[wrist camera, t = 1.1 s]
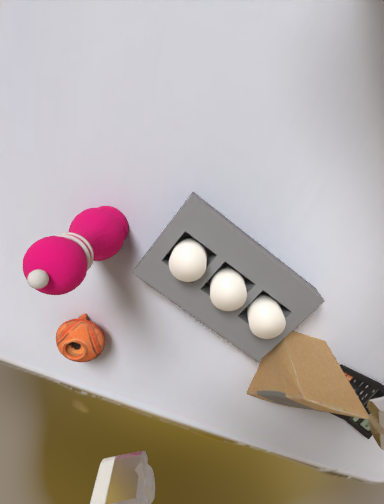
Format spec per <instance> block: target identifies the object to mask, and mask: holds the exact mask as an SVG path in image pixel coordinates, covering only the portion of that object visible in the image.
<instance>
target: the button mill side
mask: <svg viewBox="0 0 384 504" xmlns="http://www.w3.org/2000/svg"><path fill="white" fill-rule="evenodd" d="M206 264H207V250H206V247H205V246H204V245H203V244H202V243H200V242H199V241H198V240H196V239H195V238H184V239H181V240H180V241H178V242H177V243H176V245H175V246H174V249H173V251H172V254H171V256H170V259H169V269H170V271H171V273H172V275H173V276H174V277H175V278H177V279H178V280H180V281H184V282H193V281H196V280H198V279H199V278H201V277H202V276H203V274H204V273H205V270H206Z"/></svg>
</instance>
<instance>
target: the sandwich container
mask: <svg viewBox="0 0 384 504" xmlns="http://www.w3.org/2000/svg"><path fill="white" fill-rule="evenodd" d="M247 394H249V395H252V396H255V397H257V398H260V399H263V400H266V401H270V402H274V403H277V404H281V405H285V406H290V407H297V408H304V409H311V410H317V411H323V412H330V413H335V414H341V415H346V416H352V417H357V418H363V419H368V418H369V415H368V413H367V412H366V410H365V408H364V407H363V405H362V403H361V401H360V400H359V398H358V396H357V395H356V393H355V391H354V389H353V388H352V386H351V384H350V383H349V381H348V379H347V377H346V376H345V374H344V372H343V371H342V369H341V367H340V365H339V364H338V362H337V360H336V359H335V357H334V355H333V354H332V352H331V350H330V349H329V347H328V345H327V344H326V342H325V341H323V340H320V339H317V338H313V337H310V336H307V335H304V334H301V333H297V332H294V331H291V332H290V333H289V334H288V335H287V336H286V337H285V338H284V339H283V340H282V341H280V342H279V343H278V344H277V345H276V346H275V347H274V348H273V349H272V350H271V351H270V352H269V353H267V354H266V355H265V356H264V357H263V359H262V361H261V363H260V365H259V367H258V369H257V372H256V374H255V376H254V378H253V380H252V382H251V385H250V387H249V389H248V391H247Z"/></svg>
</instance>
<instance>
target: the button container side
mask: <svg viewBox="0 0 384 504" xmlns="http://www.w3.org/2000/svg"><path fill="white" fill-rule="evenodd" d="M246 311H247V316H248V322H249V327H250V330H251V331H252V333H253V334H254V335H256V336H257V337H259V338H263V339H271V338H274V337H277V336H278V335H280V334H281V333H282V332H283V330H284V329H285V325H286V320H285V317H284V315H283V312H282V310H281V307H280V305H279V303H278V301H277V300H276V299H274V298H273V297H272V296H270V295H269V294H259V295H258V296H257V297H256V298H255V299H254V300H253V301H252V302H251V303H250V304H249V305H248V306H247V307H246Z"/></svg>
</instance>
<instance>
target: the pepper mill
mask: <svg viewBox="0 0 384 504" xmlns="http://www.w3.org/2000/svg"><path fill="white" fill-rule="evenodd" d="M127 234H128V222H127V220H126V218H125V216H124V215H123V214H122V213H121V212H120V211H119V210H118V209H116V208H114V207H111V206H101V207H98V208H90V209H87V210H84V211H83V212H81V213H80V214H79V215H77V216H76V217H75V218H74V220H73V221H72V223H71V225H70V228H69V232H66V233H62V234H59V235H57V236H50V237H45V238H42V239H40V240H38V241H37V242H35V243H34V244H33V245H32V246H31V247H30V248H29V249H28V250H27V252H26V254H25V256H24V259H23V271H24V275H25V277H26V279H27V282H28V284H29V285H30V286H31V287H32V288H35V289H36V290H38V291H40V292H42V293H45V294H50V295H61V294H65V293H68V292H70V291H72V290H74V289H75V288H76V287H77V286H79V285H80V284H81V282H82V281H83V280H84V278H85V276H86V272H87V270H88V269H89V268H90V267H91V265H92V263H93V261H101V260H105V259H108V258H110V257H112V256H113V255H115V254H116V253H117V252H118V251H119V250H120V248H121V247H122V245H123V242H124V240H125V238H126V237H127Z"/></svg>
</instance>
